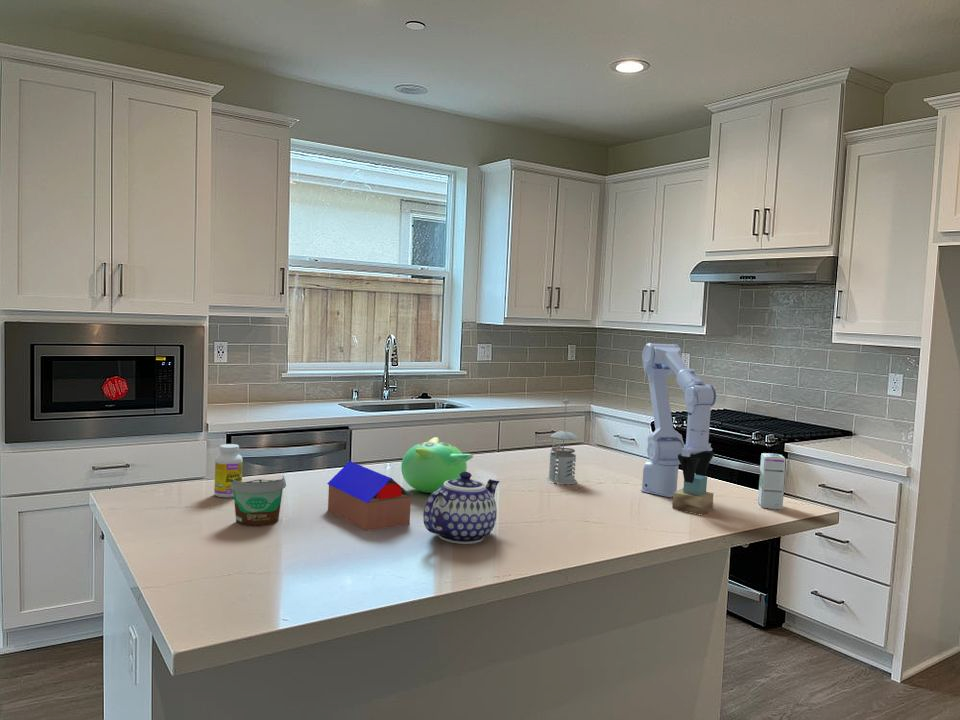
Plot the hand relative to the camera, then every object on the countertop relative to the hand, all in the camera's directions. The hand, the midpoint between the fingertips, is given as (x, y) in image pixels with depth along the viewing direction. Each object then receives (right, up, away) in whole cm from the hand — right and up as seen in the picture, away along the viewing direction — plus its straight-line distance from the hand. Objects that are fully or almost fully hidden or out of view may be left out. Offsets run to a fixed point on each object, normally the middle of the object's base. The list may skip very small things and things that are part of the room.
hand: (694, 479), depth 195 cm
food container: (-107, -5, -31) cm, 112 cm away
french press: (-33, -5, +25) cm, 42 cm away
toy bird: (-70, -4, +5) cm, 71 cm away
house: (-84, -6, -21) cm, 87 cm away
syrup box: (+23, -9, +7) cm, 26 cm away
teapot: (-62, -7, -33) cm, 70 cm away
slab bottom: (0, -9, 0) cm, 9 cm away
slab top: (0, -6, 0) cm, 6 cm away
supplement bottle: (-122, -3, -8) cm, 123 cm away
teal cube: (0, -4, 0) cm, 4 cm away
